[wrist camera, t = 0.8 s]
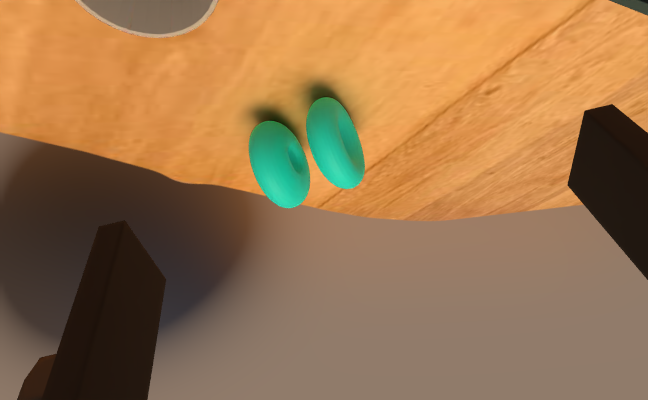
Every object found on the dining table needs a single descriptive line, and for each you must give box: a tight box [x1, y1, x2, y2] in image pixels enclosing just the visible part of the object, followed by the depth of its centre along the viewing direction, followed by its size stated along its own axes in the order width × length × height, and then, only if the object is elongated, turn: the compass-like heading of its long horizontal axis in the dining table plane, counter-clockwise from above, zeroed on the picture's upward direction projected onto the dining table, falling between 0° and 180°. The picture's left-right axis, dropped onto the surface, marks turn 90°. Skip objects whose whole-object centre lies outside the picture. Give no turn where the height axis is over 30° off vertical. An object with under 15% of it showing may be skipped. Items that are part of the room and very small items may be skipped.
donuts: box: [249, 97, 365, 208], centre depth 49 cm, size 10×10×10 cm
